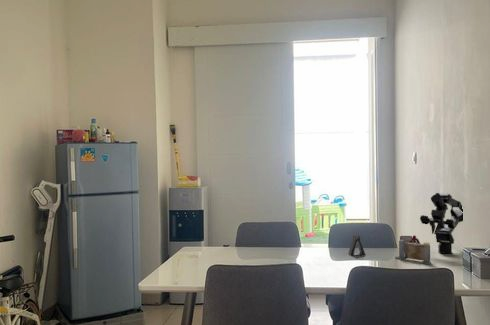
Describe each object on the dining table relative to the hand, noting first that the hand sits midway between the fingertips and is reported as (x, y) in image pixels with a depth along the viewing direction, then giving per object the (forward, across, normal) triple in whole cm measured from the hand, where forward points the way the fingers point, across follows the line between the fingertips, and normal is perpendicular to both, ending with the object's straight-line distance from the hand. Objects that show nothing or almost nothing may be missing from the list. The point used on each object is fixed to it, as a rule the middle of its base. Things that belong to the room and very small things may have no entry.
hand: (433, 233), depth 257 cm
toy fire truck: (+8, -14, +14) cm, 22 cm away
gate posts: (+22, -5, -5) cm, 23 cm away
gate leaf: (+21, -3, -5) cm, 21 cm away
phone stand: (+26, -38, -5) cm, 46 cm away
